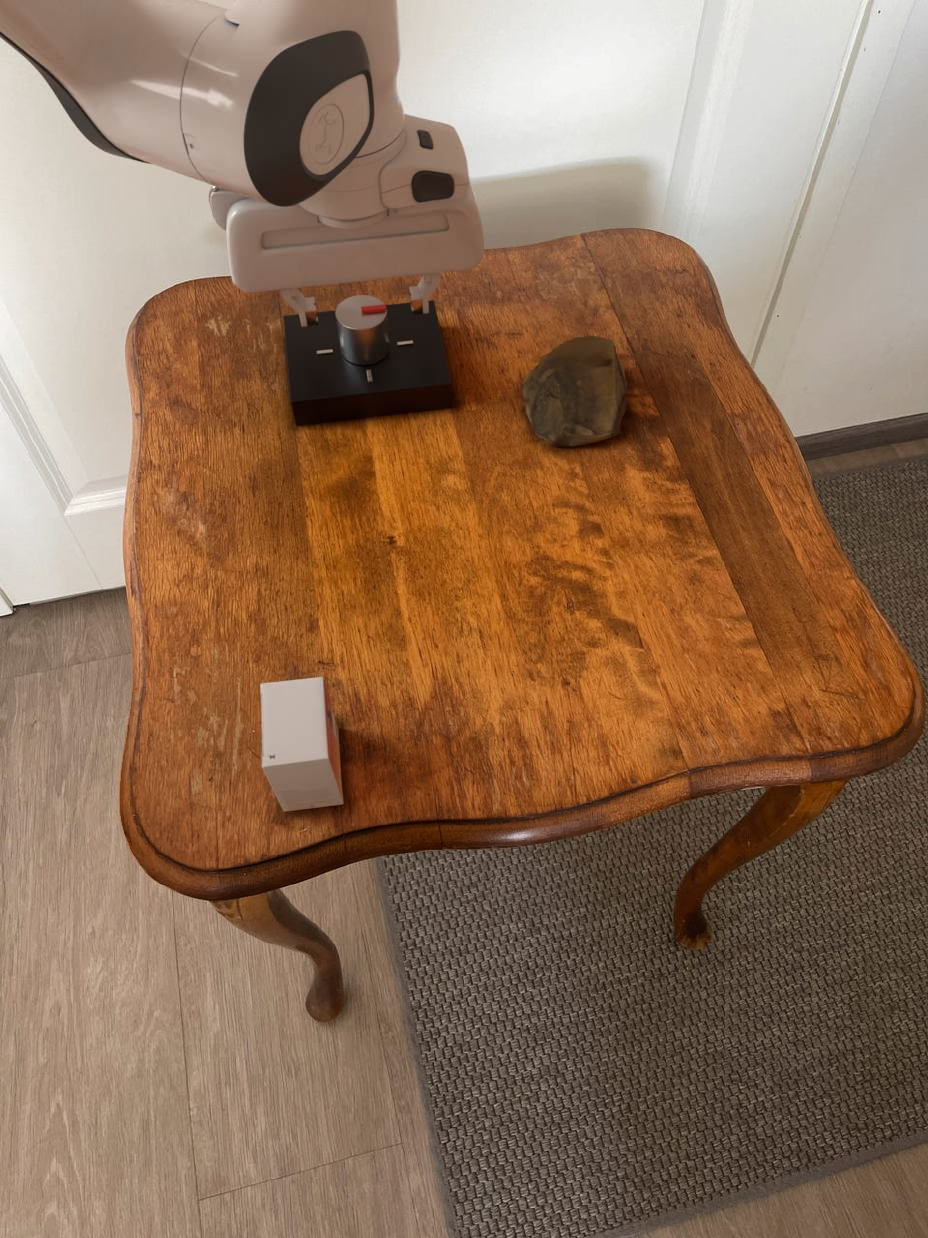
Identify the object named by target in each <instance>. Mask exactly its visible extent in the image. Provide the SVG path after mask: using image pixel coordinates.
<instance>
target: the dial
mask: <svg viewBox="0 0 928 1238" xmlns="http://www.w3.org/2000/svg"><path fill="white" fill-rule="evenodd" d="M386 305H387V304H386V303H384V301H382V300H381V299H379V298H378V297H376V296H373V295H369V294H357V295H352V296H349V297H346V298H345V299H343V300H341V302H340V303H339V304H338V305H337V306H336V309H335V310H336V312H335V315H336V322H337V329H338V336H339V343H340V350H341V353H342V355H343V357H344V358H345V359H346V360H348V361H349V362H352V363H354V364H358V365H369V364H374V363H377V362H379V361H381V360H382V359H383V358H385V357H386V355H387V354H388V352H389V349H390V343H389V331H388V319H387V309H386Z"/></svg>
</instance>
